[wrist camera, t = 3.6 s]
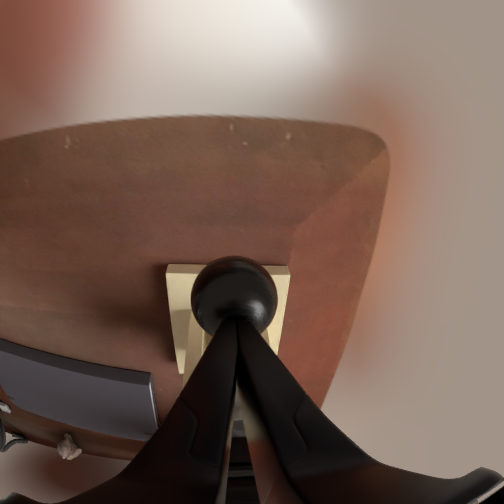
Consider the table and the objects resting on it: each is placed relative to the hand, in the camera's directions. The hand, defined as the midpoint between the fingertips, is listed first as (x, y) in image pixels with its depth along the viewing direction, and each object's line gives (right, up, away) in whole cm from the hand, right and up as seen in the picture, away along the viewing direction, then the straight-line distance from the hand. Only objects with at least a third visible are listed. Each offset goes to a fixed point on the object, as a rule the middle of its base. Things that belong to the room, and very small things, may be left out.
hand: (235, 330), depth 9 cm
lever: (-1, -2, +5) cm, 5 cm away
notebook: (-20, -13, +17) cm, 30 cm away
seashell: (-27, -26, +24) cm, 45 cm away
